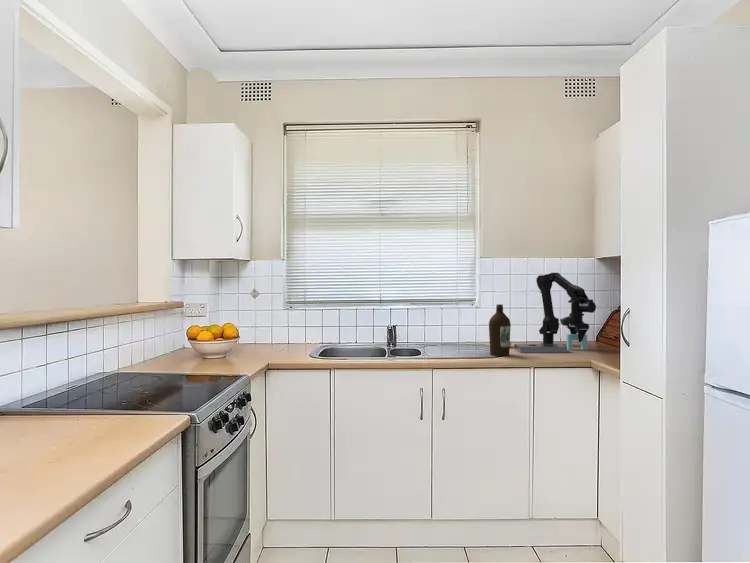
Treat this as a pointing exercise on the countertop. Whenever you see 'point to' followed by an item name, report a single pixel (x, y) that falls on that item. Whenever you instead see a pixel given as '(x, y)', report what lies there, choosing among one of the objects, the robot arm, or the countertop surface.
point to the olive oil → (499, 333)
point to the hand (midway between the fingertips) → (576, 341)
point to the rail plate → (540, 348)
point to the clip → (575, 338)
